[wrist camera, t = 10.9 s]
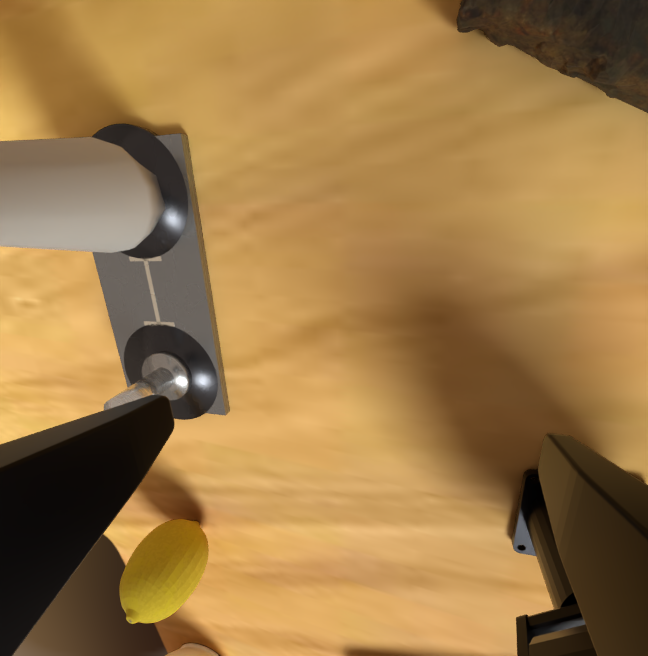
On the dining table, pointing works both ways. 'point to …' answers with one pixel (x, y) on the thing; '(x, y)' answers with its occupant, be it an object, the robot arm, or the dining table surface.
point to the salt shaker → (75, 196)
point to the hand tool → (573, 38)
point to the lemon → (163, 571)
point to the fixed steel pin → (157, 380)
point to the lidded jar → (193, 650)
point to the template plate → (165, 278)
